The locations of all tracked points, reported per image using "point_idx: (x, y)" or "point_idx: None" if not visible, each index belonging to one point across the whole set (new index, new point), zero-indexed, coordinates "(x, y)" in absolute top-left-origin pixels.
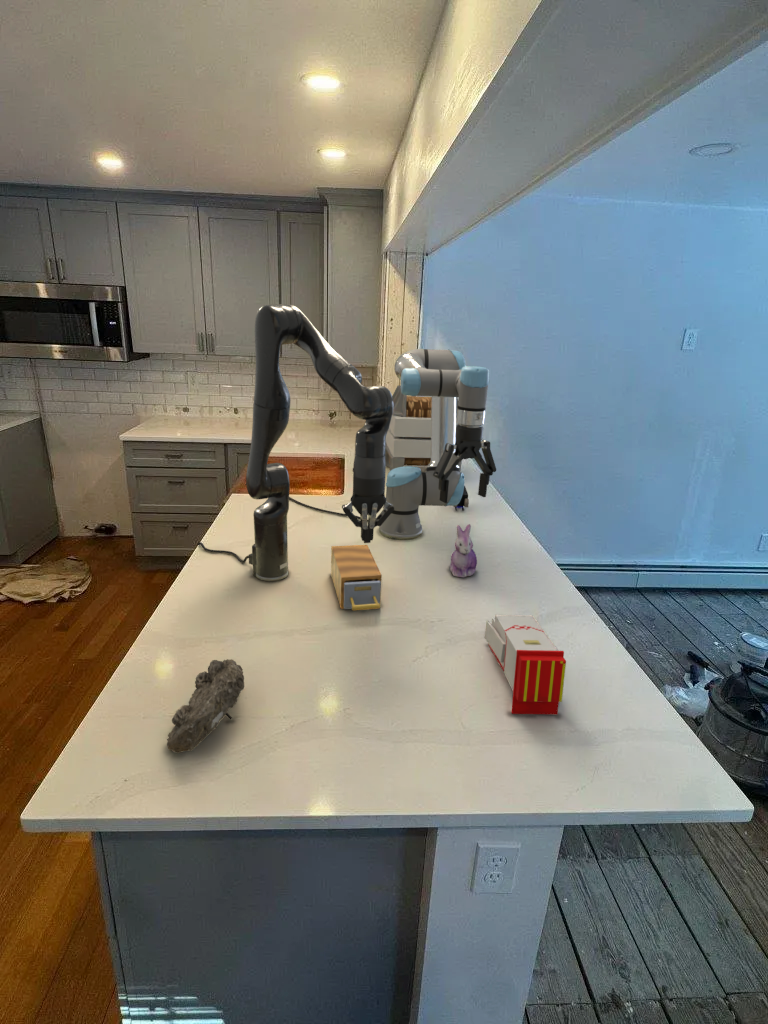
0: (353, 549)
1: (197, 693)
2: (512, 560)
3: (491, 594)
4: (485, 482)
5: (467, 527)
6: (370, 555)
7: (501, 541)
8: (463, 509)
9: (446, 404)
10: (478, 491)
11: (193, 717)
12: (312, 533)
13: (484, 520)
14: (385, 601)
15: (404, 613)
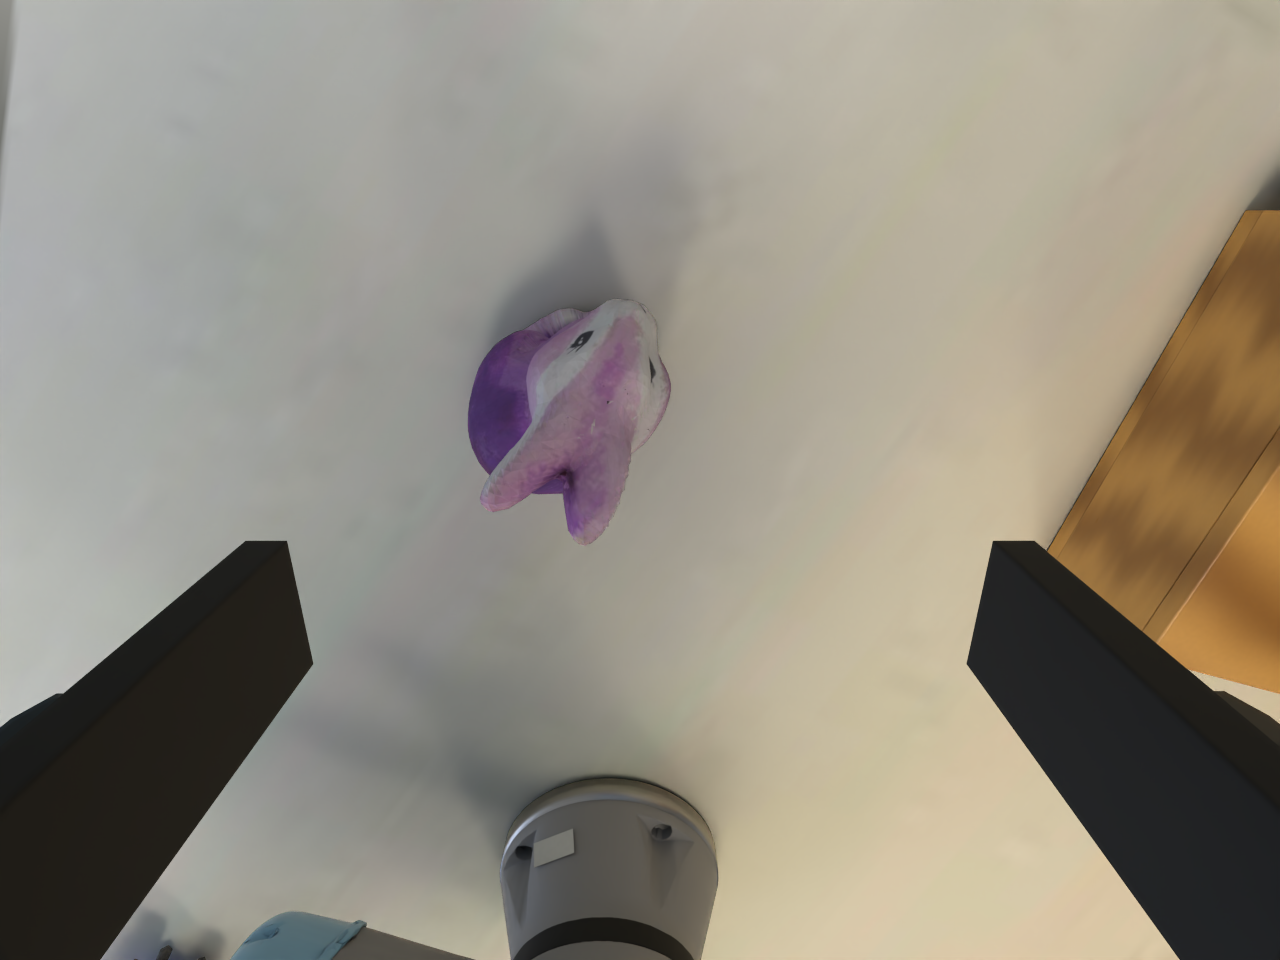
0: (1273, 628)
1: None
2: (198, 383)
3: (585, 40)
4: (102, 710)
5: (530, 473)
6: (1258, 517)
7: (137, 608)
8: (162, 955)
9: None
10: (288, 693)
11: None
12: (981, 957)
13: None
14: (1182, 247)
15: (1200, 68)
